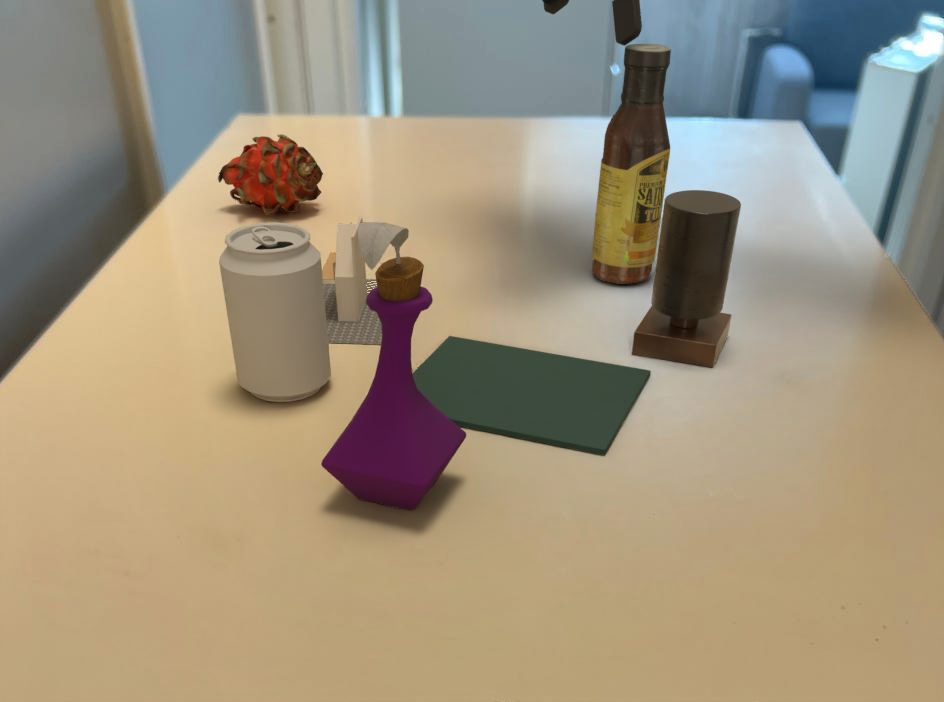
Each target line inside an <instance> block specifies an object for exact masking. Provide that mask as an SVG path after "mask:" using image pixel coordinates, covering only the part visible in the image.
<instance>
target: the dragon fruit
mask: <svg viewBox="0 0 944 702" xmlns="http://www.w3.org/2000/svg"><path fill="white" fill-rule="evenodd" d="M276 136H277V137H278V139H277V140H274V139H273V138H271V137H270V136H263V135H262V136H254V137H252V141H253V142H254V143H252V144H245V145H244V146H243V149H242V152H241V153H240V155H239V156H236V157H234V158H231V160H230V161H229V162H228V163H226V164H224V165H223V166H222V167H221V169H220V171H219V172H218V176H217V181H218V183H221V182H222V181H223V182H224V184H226V185H228V186H229V185H230V186H231V185H232V186H233V187H234V188H233V189H231V190H230V191H229V195H230V197H231V199H233V200H234V201H236V202H238V203H239V204H240V205H245V206H252V207H253V206H254V207H256V208H257V209H258V210H261V211H263V213H264V214H265V215H266V216H267V217H270V216H272V215H273V214H275V213H277V212H278V211H279V208H282V209H283V210H284V211H285V212H286V213H289V214H290V213H296V212H299V211H300V209H301V206H300V202H301V203H304V202H309V201H315V200H317V199H318V197H319V196H320V195H321V194H322V191H321V190H320V188H319V185H318V184H319V183H320V182H321V181H322V178H323V175H324V173H323V171H322V169H321V167H320V166H319V164H318V163H317V160H316V159H315V158H314V156H313V155H312V154H311V153H310V152H309V151H308V150H307V148H306V147H304V146H299V145H298V143H297V142H296V141H294V139H292V138H290V137H288V136H287V135H285V134H276Z"/></svg>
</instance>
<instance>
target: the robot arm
mask: <svg viewBox="0 0 944 702" xmlns="http://www.w3.org/2000/svg"><path fill="white" fill-rule="evenodd" d="M541 1H542V3H543V10H544V12H545V13H549V14H551V15H555V14H556V13H558V12H560V11H561V10H562V9H564V8H565V7H566V6H567V5H568V3H569V2H570V0H541ZM611 5H612V14H613V15H612V16H613V25H614V35H615V43H617V44H619V45H621V46H624V47H626V46H628V45H629V44H630V43H632V42H633V41H635V39H637V38H639V36H640V34H641V32H642V29H643V22H642V13H641V12H642V11H641V2H640V0H612V1H611Z"/></svg>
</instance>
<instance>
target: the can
mask: <svg viewBox="0 0 944 702" xmlns="http://www.w3.org/2000/svg"><path fill="white" fill-rule="evenodd" d="M310 240H311V233H310V232H309V231H308V230H307V229H306V227H305V228H304V227H302V226H300V225H298V224H293V223H288V222H277V221H276V222H274V221H273V222H259V223H258V222H257V223H252V224H246V225H243V226H239V227H236V228H235V229H233V230H231V231H230V232H229V233H227V234H226V235H225V238H224V244H225V245H226V247H225V248H224V250H223V251H222V253H221V254H220V256H219V260H218V263H219V270H220V277H221V283H222V289H223V296H224V302H225V310H226V314H227V315H226V316H227V321H228V322H227V323H228V328H229V334H230V341H231V347H232V354H233V360H234V366H235V373H236V381H237V382H238V384H239V385H240V387H241V388H243V389H244V390H246V391H248V392H250V394H251V395H253V396H254V397H256V398H258V399H260V400H263V401H267V402H274V403H285V402H286V403H287V402H288V403H290V402H296V401H300V400H304V399H306V398H309V397H312V396H314V395H315V394H316V393H318V392H319V391H320V390H321V389H322V387H323V386H324V385H326V383H328V381H329V380H330V378H331V377H332V372H331V371H332V368H331V357H330V347H329V346H330V345H329V343H328V334H327V322H326V311H325V300H324V289H323V277H322V270H323V267H322V257H321V256H322V255H321V252H320V251H319V249H317V248H316V247H315V245H314V244H313V243H311V241H310Z"/></svg>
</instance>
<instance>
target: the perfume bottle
mask: <svg viewBox="0 0 944 702" xmlns="http://www.w3.org/2000/svg"><path fill="white" fill-rule="evenodd" d="M357 230H358V238H359V243H360V249H361V254H362V257H363V259H364V260H365V265H366V266H367V267H368V268H369V269H370V271H373V270H374V269H375V268H376V267H377V265H378V264H379V262H380V260H381V259H382V257H383V255H384V254H385V253H386V251H387V250H388V247H389V246H390V245H391V246H392V247H393V248H394V250H395V257H393V258H390V259H388V260H386V261H384V262H382V263H381V264H380V265H379V267H377V268H376V269H377V270H376V271H375V272H374V275H375V279H376V281H377V286H378V287H377V288H374V289H372V290H371V291H370V293H369V294H368V295H367V298H366V303H367V305H368V307H369V308H370V309H371V310H373V311H375V312H377V314H378V317H379V319H380V322H381V324H382V342H381V344H380V349H379V354H378V360H377V365H376V369H375V373H374V374H375V375H374V377H373V379H372V382H371V384H370V386H369V390H368V392H367V394H366V395H365V397H364V399H363V400H362V402H361V404H360V405H359V407H358V409H357V410H356V412H355V413H354V414H353V416H352V419H351V420H350V421H349V423H347V425H346V427H345V428H344V429H343V431H342V432H341V433H340V435H339V437H338V438H337V439H336V440H335V442H334V443H333V445H332V446H331V448H330V449H329V450H328V451H327V453H326V454H325V456H324V457H323V459H322V460H321V464H320V465H321V467H322V468H323V469H324V470H325V471H327V472H328V473H329V474H330V475H331V476H332V477H333V478H334V479H335V480H337V481H338V482H339V484H341V485H342V486H343V487H344V488H345V489H346V490H348V491H349V492H350V493H351V494H352V495H353V496H354V497H355V498H357V499H359V500H361V501H366V502H370V503H374V502H375V503H374V504H380V505H383V504H384V506H388V507H392V506H394V507H393V508H396V507H398V508H397V509H401V508H402V510H405V509H407V510H406V511H414V510H416V508H417V507H418V506H419V505H420V504H421V502H422V501H423V500H424V498H425V497H426V496H427V494H428V493H429V492H430V490H431V489H432V488H433V486H434V485H435V484H436V482H438V480H439V479H440V477H441V476H442V474H443V472H444V471H445V469H447V466H448V465H449V464H450V462H451V461H452V459H453V458H454V456H455V454H456V453H457V451H459V449H460V447H461V446H462V444H463V442H464V441H465V439H466V438H467V432H466V431H465V430H464V429H463V428H462V427H461V426H458V425H456V424H455V423H454V422H453V421H452V420H450V419H449V418H448V417H447V416H446V415H444V414H443V413H442V412H441V411H440V410H438V409H437V408H436V407H435V406H434V405H433V404H432V403H431V402H430V401H429V400H428V399H427V398H426V397H425V396H424V395H423V394H422V393H421V392H420V391H419V390H418V389H417V386H416V384H415V381H414V379H413V375H412V373H413V366H412V365H413V364H412V338H413V333H414V328H415V324H416V322H417V320H418V318H419V316H420V314H421V312H423V311H426V310H428V309H429V308H430V306H431V305H432V304H433V294H432V292H430V291H429V290H428V288H426V287H425V286H421V285H422V280H423V274H424V268H425V265H424V263H423V262H422V261H421V260H420V259H418V258H415V257H411V256H401V253H400V250H401V247H402V246H403V245H404V243H405V242H406V241H407V240H408V238H409V232H410V230H409V228H407V227H404V226H401V225H396V224H393V223H388V222H381V221H380V222H376V221H363V222H362V223H359V226H358V229H357ZM421 500H422V501H421ZM413 509H414V510H413Z"/></svg>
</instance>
